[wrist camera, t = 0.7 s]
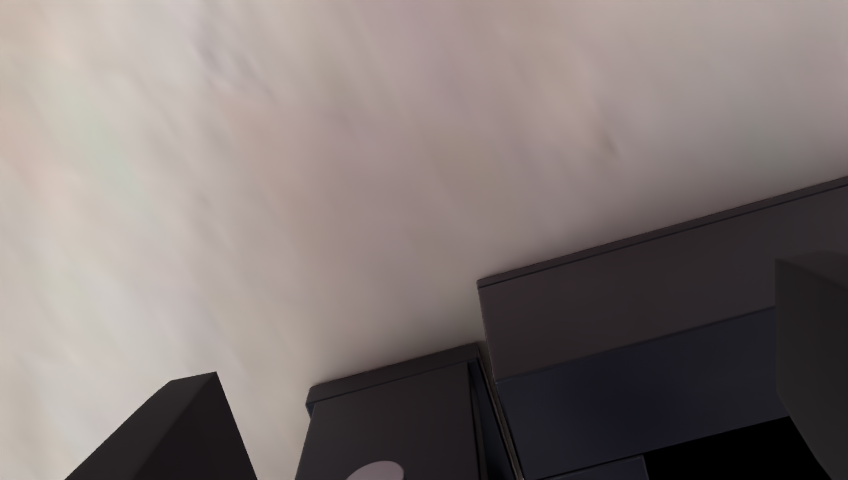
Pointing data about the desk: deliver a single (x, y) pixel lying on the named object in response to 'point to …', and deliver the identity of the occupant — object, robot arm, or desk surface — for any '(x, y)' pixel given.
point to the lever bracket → (408, 424)
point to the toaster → (658, 348)
